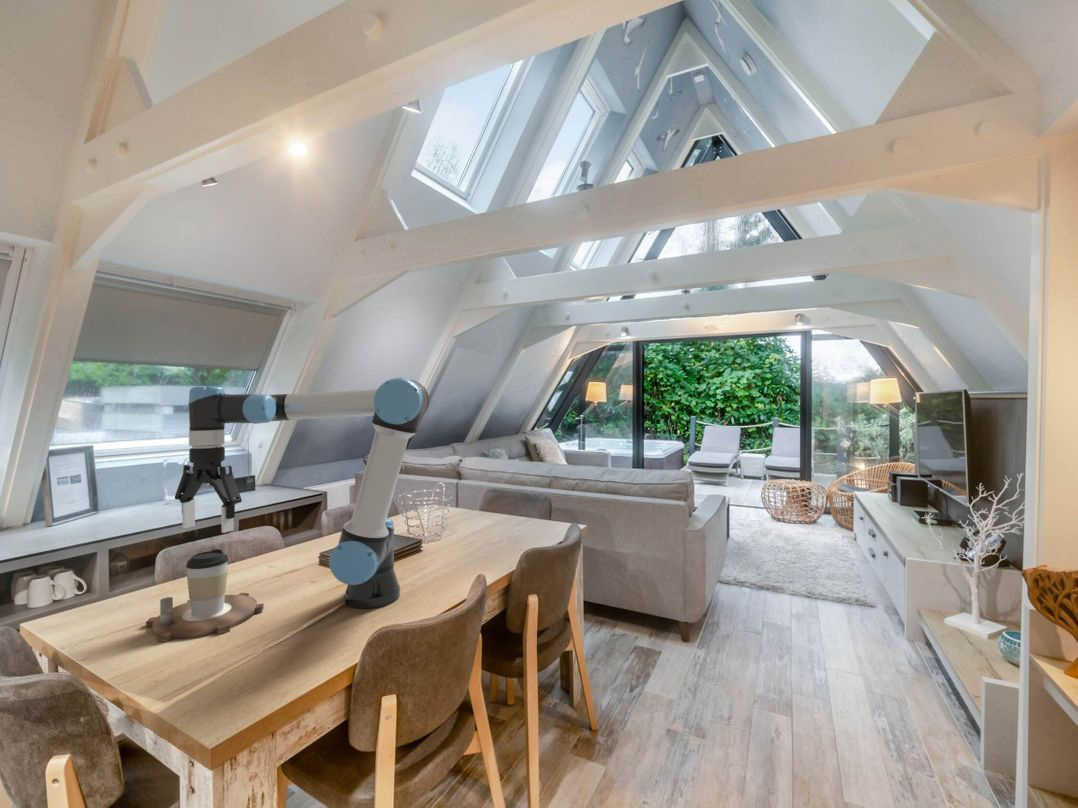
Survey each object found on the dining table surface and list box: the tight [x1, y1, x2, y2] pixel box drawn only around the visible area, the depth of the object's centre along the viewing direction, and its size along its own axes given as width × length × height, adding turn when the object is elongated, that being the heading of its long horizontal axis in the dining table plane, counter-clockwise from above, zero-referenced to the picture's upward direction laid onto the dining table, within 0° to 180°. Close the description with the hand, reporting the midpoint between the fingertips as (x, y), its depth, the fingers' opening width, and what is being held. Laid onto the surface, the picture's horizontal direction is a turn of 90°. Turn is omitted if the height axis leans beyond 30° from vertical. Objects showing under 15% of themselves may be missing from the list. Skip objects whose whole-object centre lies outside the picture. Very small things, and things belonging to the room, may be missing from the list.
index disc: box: [145, 592, 265, 643], centre depth 123 cm, size 23×25×8 cm
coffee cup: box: [185, 548, 229, 617], centre depth 123 cm, size 9×9×15 cm
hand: (207, 529), depth 123 cm, fingers open, 13 cm apart
